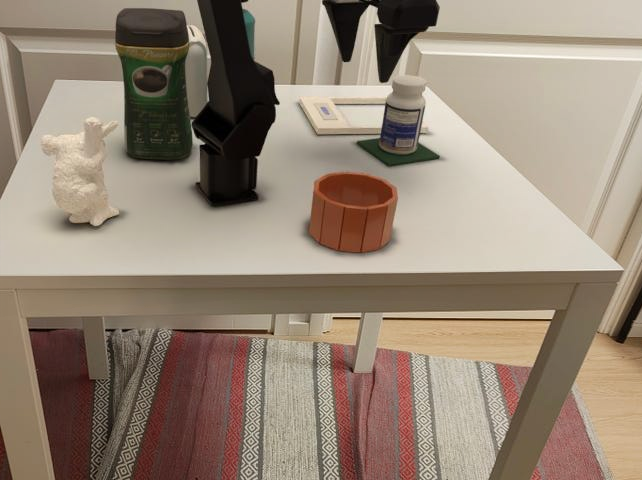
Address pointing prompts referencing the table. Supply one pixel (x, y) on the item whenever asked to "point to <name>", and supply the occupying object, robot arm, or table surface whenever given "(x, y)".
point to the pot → (352, 211)
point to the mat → (394, 159)
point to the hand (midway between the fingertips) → (364, 71)
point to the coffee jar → (154, 82)
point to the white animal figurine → (81, 172)
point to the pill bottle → (403, 115)
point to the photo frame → (339, 114)
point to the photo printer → (196, 72)
